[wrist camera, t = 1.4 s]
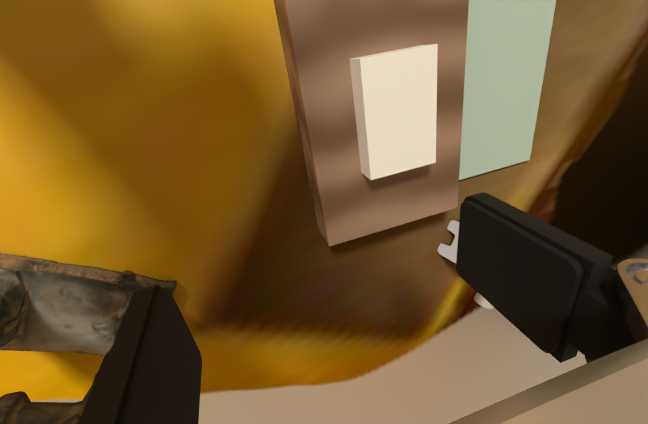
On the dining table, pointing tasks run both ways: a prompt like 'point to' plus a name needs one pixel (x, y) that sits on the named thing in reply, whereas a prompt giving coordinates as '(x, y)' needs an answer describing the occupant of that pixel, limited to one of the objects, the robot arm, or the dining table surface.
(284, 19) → the deck
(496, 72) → the mat
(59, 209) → the dining table surface
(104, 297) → the statue
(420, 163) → the cream rectangular block
